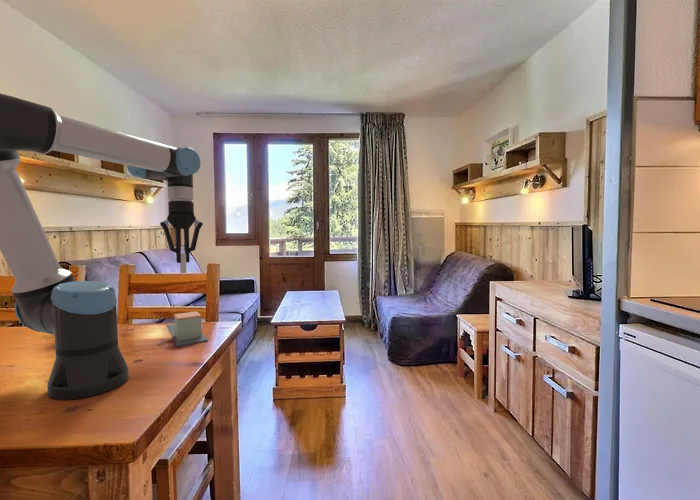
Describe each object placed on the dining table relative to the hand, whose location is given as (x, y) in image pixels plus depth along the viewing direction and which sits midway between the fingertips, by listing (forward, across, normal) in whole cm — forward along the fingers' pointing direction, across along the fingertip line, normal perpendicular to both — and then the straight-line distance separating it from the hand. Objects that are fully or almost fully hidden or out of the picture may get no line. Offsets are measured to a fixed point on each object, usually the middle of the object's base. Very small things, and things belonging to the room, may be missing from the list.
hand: (183, 272), depth 120 cm
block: (+14, 0, +3) cm, 14 cm away
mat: (+21, 0, -3) cm, 21 cm away
